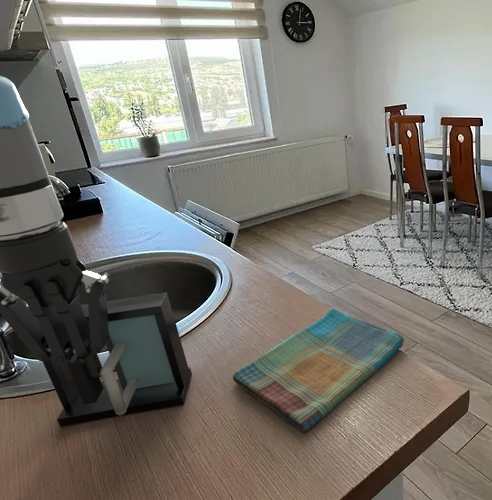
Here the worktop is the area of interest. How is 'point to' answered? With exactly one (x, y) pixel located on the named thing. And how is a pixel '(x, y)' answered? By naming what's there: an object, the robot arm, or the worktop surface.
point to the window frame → (141, 397)
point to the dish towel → (318, 367)
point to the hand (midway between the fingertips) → (94, 396)
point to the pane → (134, 359)
